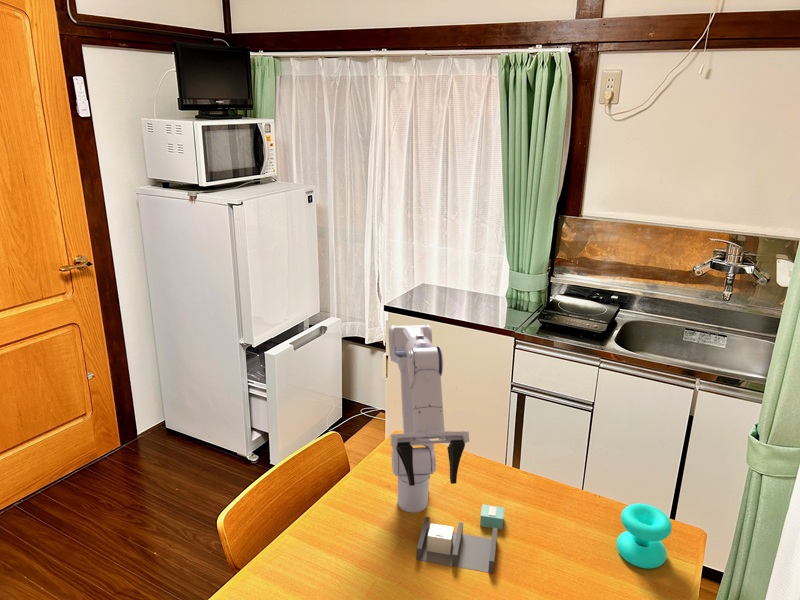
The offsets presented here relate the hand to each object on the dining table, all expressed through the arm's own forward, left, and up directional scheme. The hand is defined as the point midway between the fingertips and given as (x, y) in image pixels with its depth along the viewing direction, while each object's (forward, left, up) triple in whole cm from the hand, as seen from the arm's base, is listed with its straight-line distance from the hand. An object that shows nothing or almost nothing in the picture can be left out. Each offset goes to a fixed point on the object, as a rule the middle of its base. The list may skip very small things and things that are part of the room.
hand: (432, 484), depth 109 cm
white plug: (-13, 0, -25) cm, 28 cm away
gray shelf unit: (-13, +4, -26) cm, 29 cm away
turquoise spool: (-22, +42, -26) cm, 55 cm away
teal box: (-24, +10, -26) cm, 37 cm away
